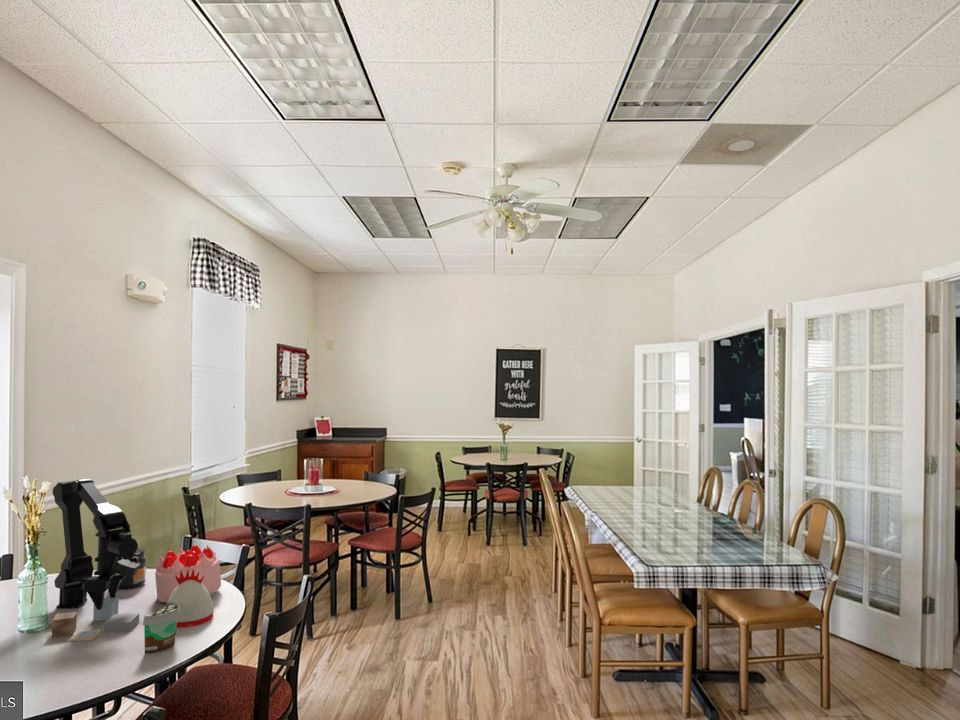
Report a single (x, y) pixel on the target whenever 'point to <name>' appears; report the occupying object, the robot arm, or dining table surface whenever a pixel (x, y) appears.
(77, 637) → the tan flat square frame
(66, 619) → the walnut cube
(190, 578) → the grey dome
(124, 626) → the base block
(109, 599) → the slate cube
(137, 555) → the supplement container
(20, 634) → the dining table surface
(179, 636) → the dining table surface
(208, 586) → the cake
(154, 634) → the food container
